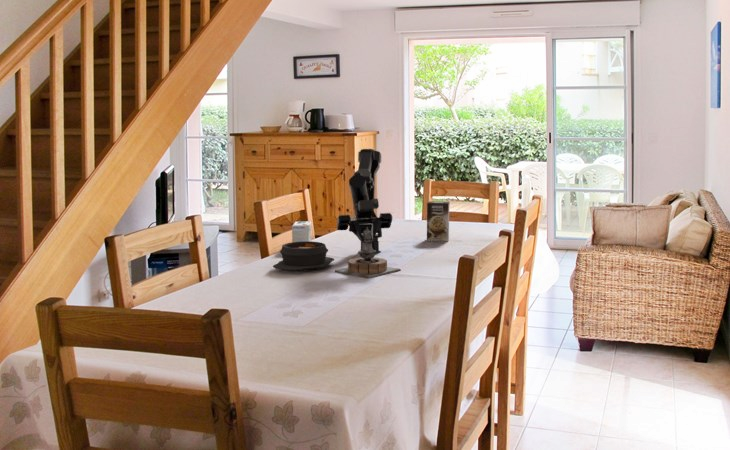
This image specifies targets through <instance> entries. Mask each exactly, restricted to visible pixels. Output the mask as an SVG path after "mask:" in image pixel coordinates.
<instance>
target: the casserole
mask: <svg viewBox="0 0 730 450" xmlns="http://www.w3.org/2000/svg"><path fill="white" fill-rule="evenodd" d="M326 246H327V245H326V244H325V243H324V242H318V241H311V242H310V241H303V242H292V241H291V242H287V243H285V244H282V247H281V248H280V250H279V253H280V255H281V258H282V260H280V261H278V262H277V263H275V264H274V265H272V267H273V268H274V269H277V270H282V271H294V272H310V271H317V270H319V269H322V268H324V267H326V266H329V265H330V264H332V262H333V261H335V258H333V257H329V256H327V254H328V252H329V249H328V248H327V247H326Z"/></svg>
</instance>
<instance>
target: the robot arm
mask: <svg viewBox="0 0 730 450" xmlns="http://www.w3.org/2000/svg"><path fill="white" fill-rule="evenodd" d="M357 154H358V155H357V157H358V158H357V162H358V163H359V165H358V169H357V170H356V171H354V172H353V175H352V176H351V177H350V178H349V180H348V186H349V190H350V194H351V199H352V204H353V205H352V206H353V210H354V212H353V214H354V216H351V215H350V214H339V215H338V216H337V220H336V221H337V222H336V229H337V230H338V231H347V230H348V231H349V232H351V233H353V234H354V235H355V236H356V238H357V239H358V240H359V241H360V250H362V249H363V231H364V230H366V229H367V227H368V229H369V230H370V231H371V235H372V240H373V241H372V249H373V250H375V251H376V252H375V254H379V253H381V252H382V251H381V250H379V247H380V246H379V244H380V243H379V242H380V241H379V238H382V237H383V232H382V229H389V228H391V226H392V221H393V215H392V213H391V212H380V213H379V217H378V216H377V213H376V212H375V210H378V208H379V199H378V198H375V197H376V195H375V194H376V174H377V173H378V171H379V169H380V164H381V163H382V153H381V152H380V151H378V150H375V149H373V148H362V149H360V151H358V153H357ZM360 250H359V251H360ZM359 251H357V253H358V254H360V253H359Z"/></svg>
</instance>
